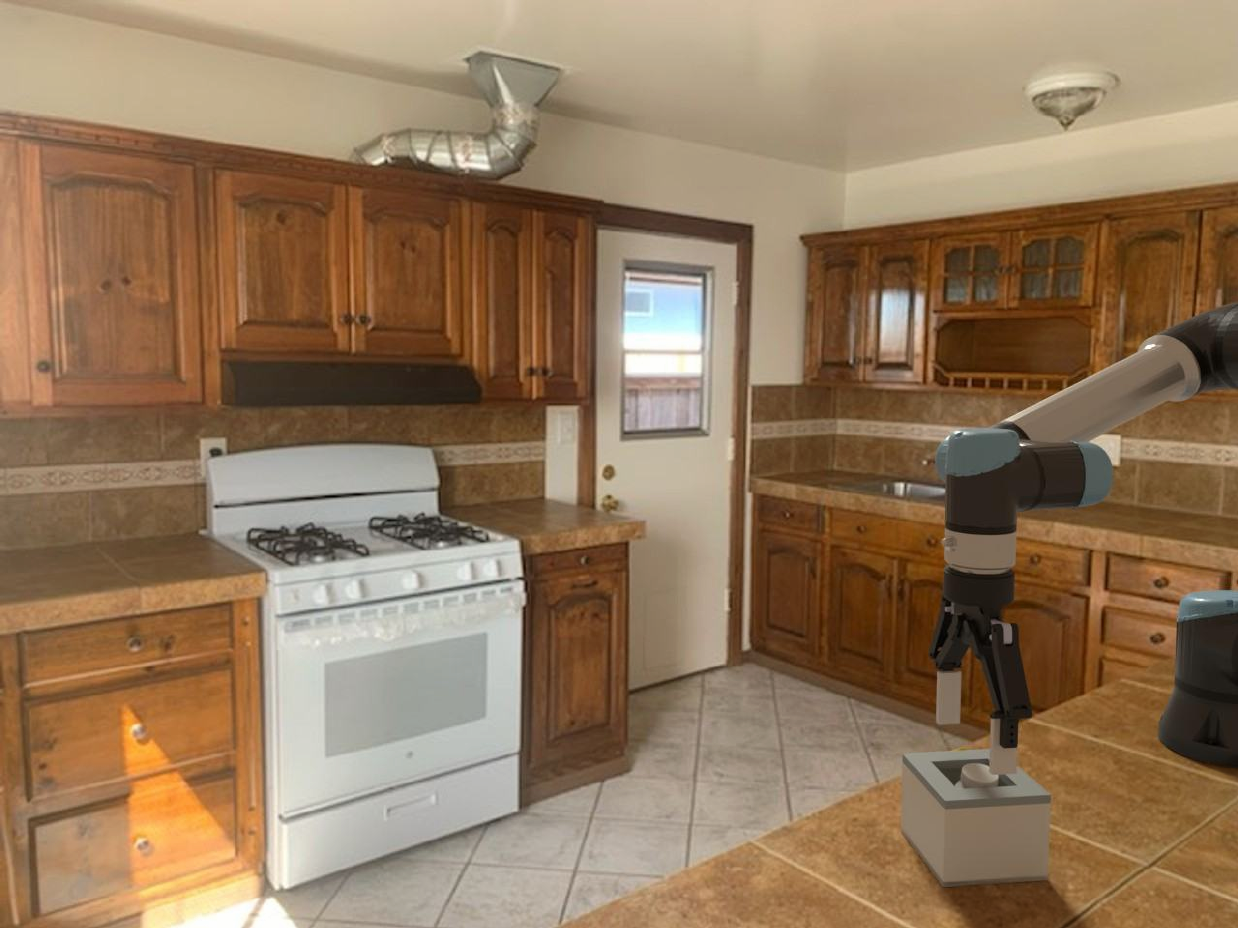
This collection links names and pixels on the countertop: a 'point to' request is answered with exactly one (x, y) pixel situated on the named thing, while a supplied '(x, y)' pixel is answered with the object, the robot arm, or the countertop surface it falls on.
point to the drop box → (974, 821)
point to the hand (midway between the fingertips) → (973, 746)
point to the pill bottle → (976, 777)
